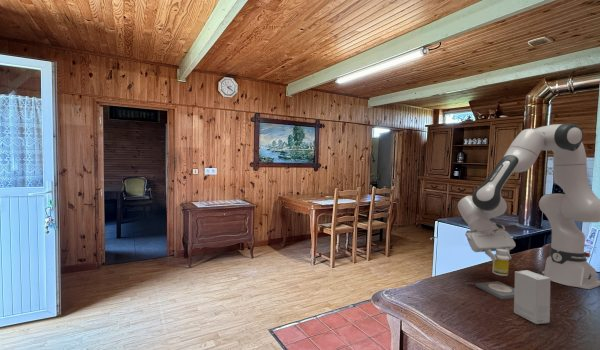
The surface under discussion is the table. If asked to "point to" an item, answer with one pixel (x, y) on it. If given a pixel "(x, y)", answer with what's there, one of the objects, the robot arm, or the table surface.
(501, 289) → the board
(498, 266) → the supplement bottle
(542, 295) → the skincare box
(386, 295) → the table surface
